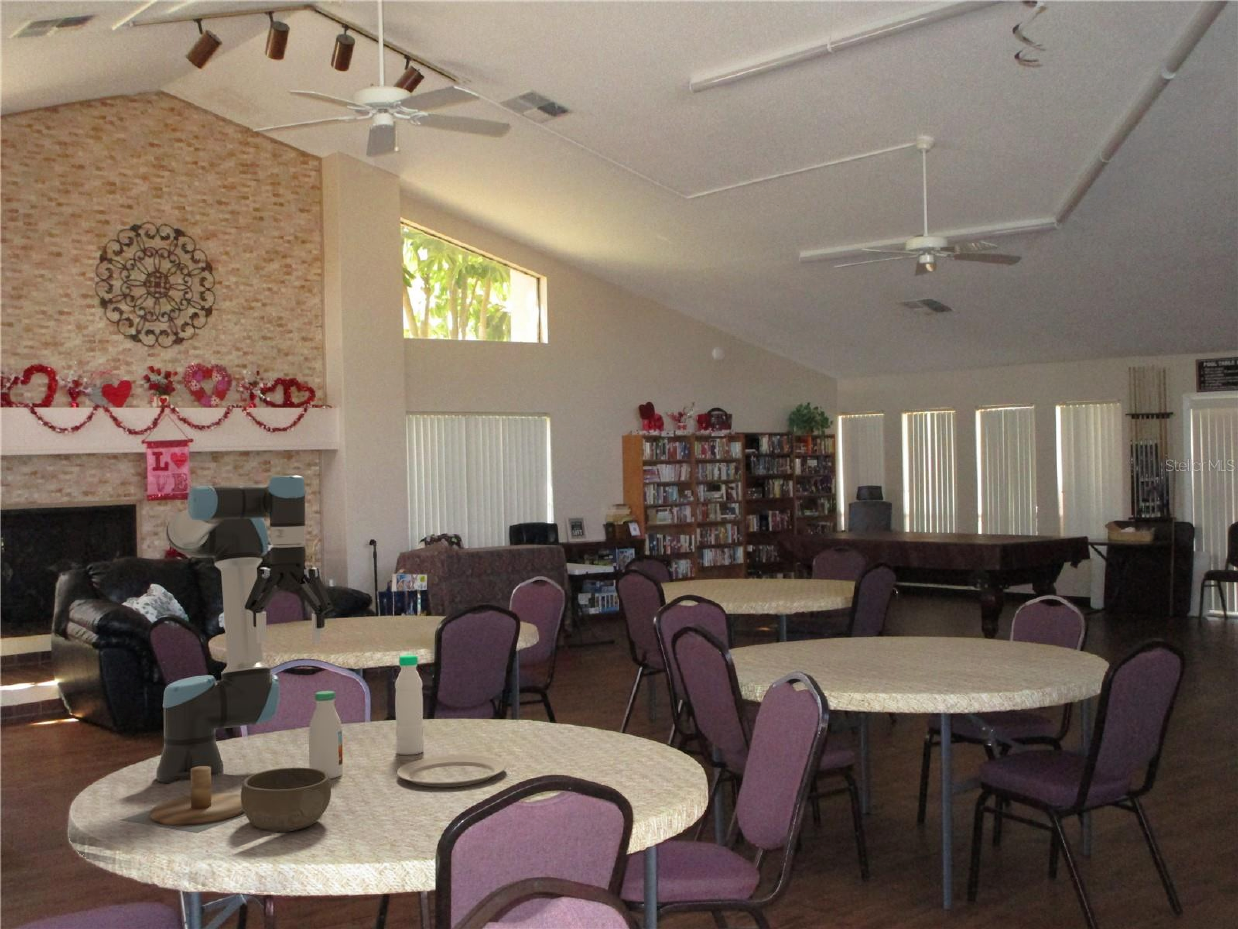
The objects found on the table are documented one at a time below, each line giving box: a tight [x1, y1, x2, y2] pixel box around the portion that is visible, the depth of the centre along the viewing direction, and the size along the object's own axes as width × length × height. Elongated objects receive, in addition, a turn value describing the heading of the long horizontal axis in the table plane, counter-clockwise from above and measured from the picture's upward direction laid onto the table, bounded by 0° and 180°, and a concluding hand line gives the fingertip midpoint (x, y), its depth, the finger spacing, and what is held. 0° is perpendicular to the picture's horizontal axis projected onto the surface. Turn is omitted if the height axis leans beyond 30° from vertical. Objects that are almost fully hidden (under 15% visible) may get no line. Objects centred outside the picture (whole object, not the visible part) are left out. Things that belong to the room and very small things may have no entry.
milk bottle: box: [308, 690, 344, 780], centre depth 264 cm, size 8×8×20 cm
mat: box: [120, 809, 246, 834], centre depth 233 cm, size 22×22×1 cm
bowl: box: [240, 767, 332, 833], centre depth 225 cm, size 17×18×10 cm
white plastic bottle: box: [394, 654, 425, 756], centre depth 287 cm, size 7×7×25 cm
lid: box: [150, 766, 244, 826], centre depth 233 cm, size 20×20×9 cm
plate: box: [396, 754, 506, 788], centre depth 262 cm, size 26×26×2 cm
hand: (289, 643), depth 242 cm, fingers open, 13 cm apart
